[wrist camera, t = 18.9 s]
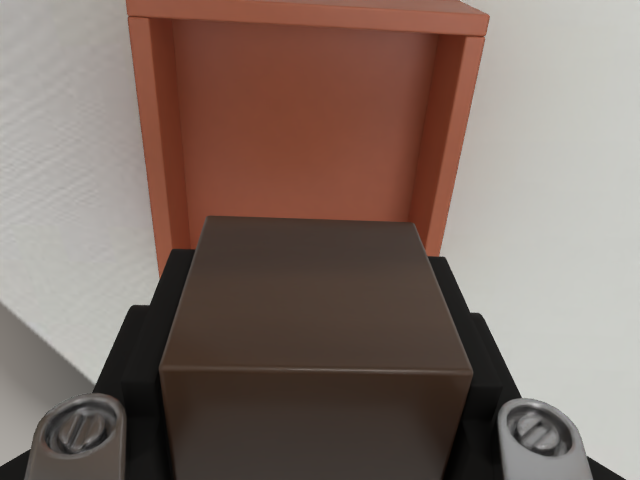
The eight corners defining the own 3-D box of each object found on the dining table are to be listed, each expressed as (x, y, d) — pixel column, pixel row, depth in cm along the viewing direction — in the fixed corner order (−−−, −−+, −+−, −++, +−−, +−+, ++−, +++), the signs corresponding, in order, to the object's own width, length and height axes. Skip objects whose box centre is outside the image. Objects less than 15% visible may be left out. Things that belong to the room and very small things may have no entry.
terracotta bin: (153, -20, 17) (124, -8, 14) (458, -1, 18) (490, 14, 15) (180, 263, 23) (163, 314, 20) (409, 270, 24) (426, 320, 21)
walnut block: (205, 213, 11) (156, 367, 7) (414, 220, 11) (476, 372, 7) (214, 368, 13) (181, 548, 9) (388, 371, 14) (425, 547, 10)
